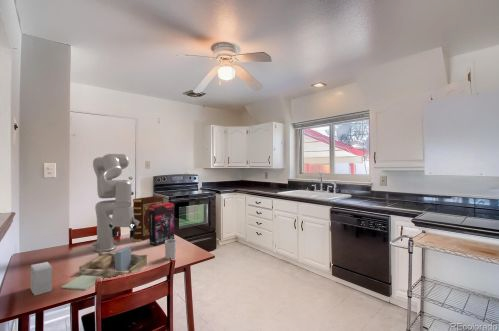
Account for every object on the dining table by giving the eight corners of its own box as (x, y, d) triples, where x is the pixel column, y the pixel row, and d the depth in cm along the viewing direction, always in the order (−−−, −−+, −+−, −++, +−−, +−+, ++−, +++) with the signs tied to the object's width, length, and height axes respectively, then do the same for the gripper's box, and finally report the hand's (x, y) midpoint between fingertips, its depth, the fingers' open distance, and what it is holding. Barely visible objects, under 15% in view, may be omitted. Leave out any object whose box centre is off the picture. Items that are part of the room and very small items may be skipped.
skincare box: (52, 290, 113) (52, 267, 113) (34, 296, 108) (33, 271, 108) (48, 283, 120) (47, 260, 120) (30, 288, 115) (30, 265, 115)
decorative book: (137, 242, 181) (137, 200, 181) (130, 240, 186) (130, 199, 185) (163, 234, 200) (163, 196, 200) (156, 233, 205) (156, 195, 204)
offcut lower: (89, 273, 132) (89, 267, 132) (101, 266, 141) (101, 260, 141) (101, 273, 131) (101, 268, 131) (113, 266, 140) (113, 261, 140)
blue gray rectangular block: (115, 273, 131) (115, 252, 130) (125, 266, 140) (125, 246, 139) (120, 274, 130) (120, 252, 130) (131, 266, 139) (131, 246, 139)
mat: (61, 288, 115) (61, 286, 115) (81, 276, 127) (81, 275, 127) (85, 289, 114) (85, 288, 114) (104, 277, 126) (104, 276, 126)
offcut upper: (91, 267, 132) (91, 261, 132) (100, 261, 140) (100, 255, 140) (103, 267, 132) (103, 261, 132) (111, 261, 140) (111, 255, 140)
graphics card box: (154, 246, 172) (154, 206, 172) (148, 244, 176) (148, 205, 175) (174, 240, 186) (174, 203, 186) (168, 238, 190) (168, 202, 190)
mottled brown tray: (79, 274, 130) (79, 262, 130) (100, 262, 145) (100, 252, 144) (131, 277, 126) (131, 265, 126) (146, 265, 141) (146, 254, 141)
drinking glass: (166, 260, 149) (166, 243, 148) (163, 256, 154) (163, 240, 154) (178, 257, 153) (178, 241, 152) (174, 254, 158) (174, 238, 158)
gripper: (103, 205, 132) (103, 238, 132) (134, 206, 130) (135, 239, 130) (112, 203, 139) (112, 234, 139) (142, 203, 137) (142, 235, 137)
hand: (123, 237), depth 134 cm, fingers open, 9 cm apart
